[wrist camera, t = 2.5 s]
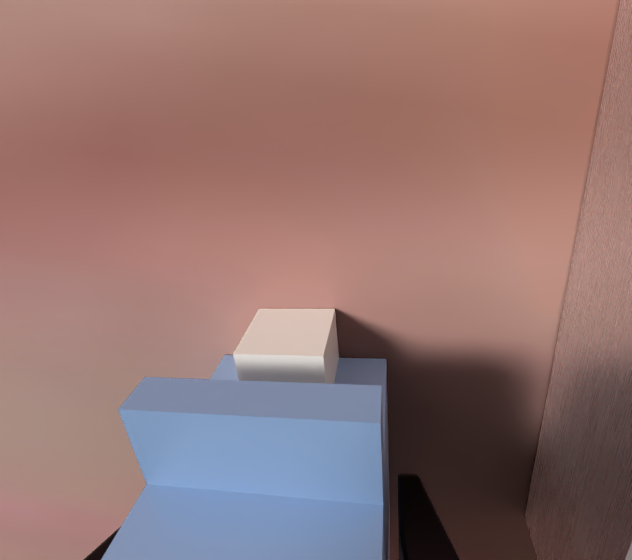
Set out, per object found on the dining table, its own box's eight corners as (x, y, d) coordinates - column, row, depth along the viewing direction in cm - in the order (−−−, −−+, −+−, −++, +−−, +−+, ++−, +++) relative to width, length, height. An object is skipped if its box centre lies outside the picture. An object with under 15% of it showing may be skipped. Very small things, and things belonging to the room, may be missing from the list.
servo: (390, 551, 11) (389, 852, 7) (265, 538, 12) (193, 803, 8) (384, 295, 8) (375, 563, 4) (211, 296, 9) (24, 522, 4)
